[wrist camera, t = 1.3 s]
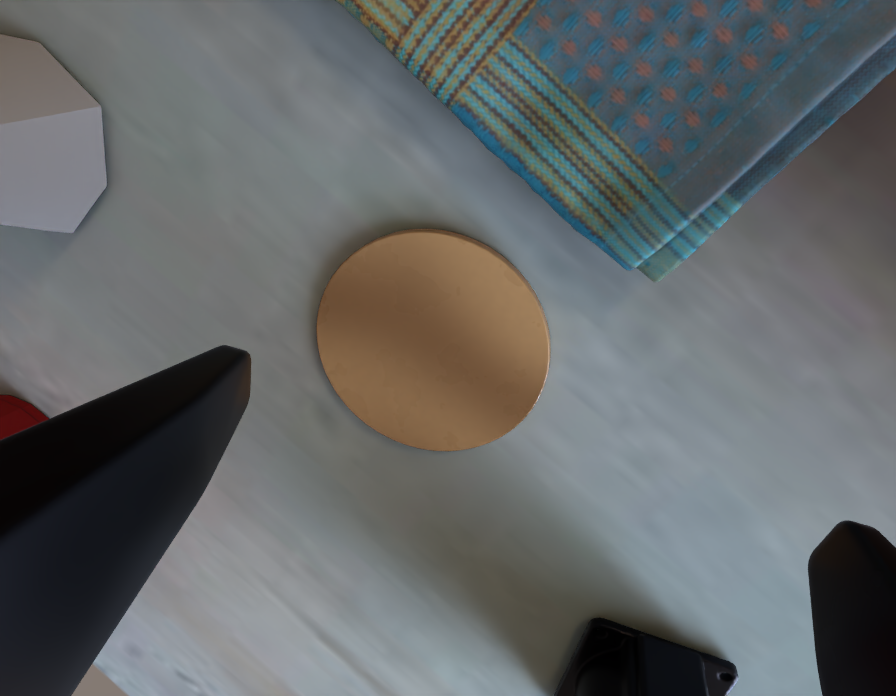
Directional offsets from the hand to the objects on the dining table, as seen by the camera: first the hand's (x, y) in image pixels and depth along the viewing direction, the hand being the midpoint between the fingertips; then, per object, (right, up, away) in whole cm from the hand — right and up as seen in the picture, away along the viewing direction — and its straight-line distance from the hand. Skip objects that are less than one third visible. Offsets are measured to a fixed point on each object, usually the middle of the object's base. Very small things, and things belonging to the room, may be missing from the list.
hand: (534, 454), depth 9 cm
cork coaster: (-2, +2, +15) cm, 15 cm away
